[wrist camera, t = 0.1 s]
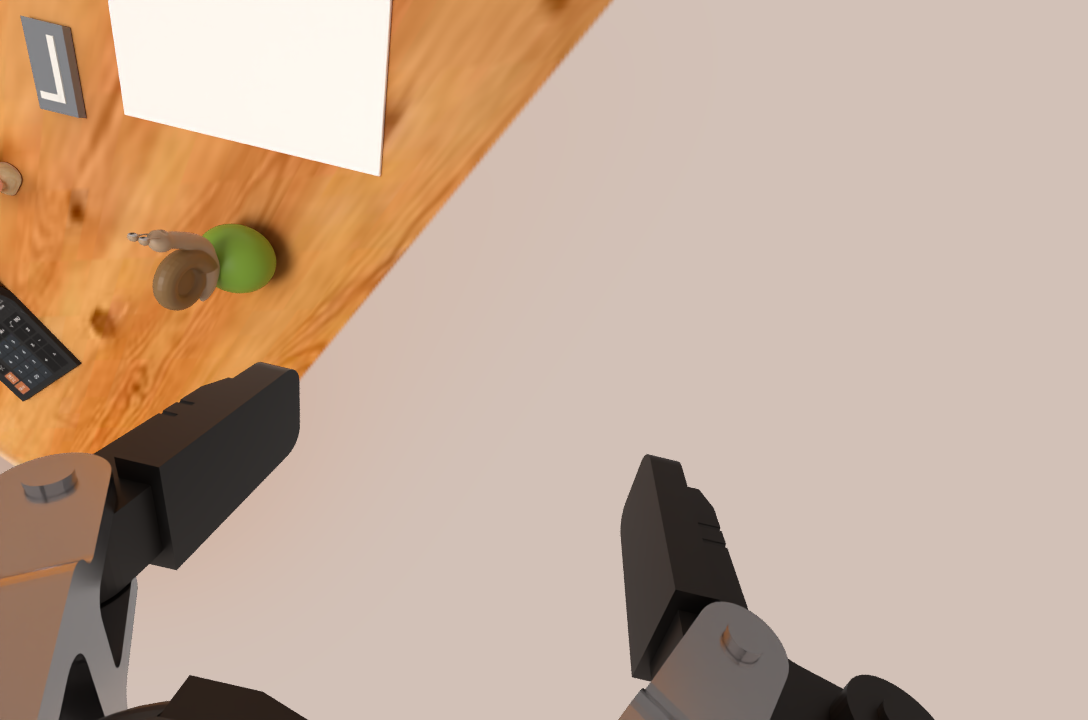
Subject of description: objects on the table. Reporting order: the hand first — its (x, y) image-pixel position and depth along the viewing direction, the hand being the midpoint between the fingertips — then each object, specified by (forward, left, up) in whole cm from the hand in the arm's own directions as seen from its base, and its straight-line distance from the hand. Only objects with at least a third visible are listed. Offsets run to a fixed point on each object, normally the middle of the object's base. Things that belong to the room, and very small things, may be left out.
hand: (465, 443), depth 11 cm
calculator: (+22, -50, -30) cm, 62 cm away
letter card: (-3, -39, -29) cm, 49 cm away
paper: (-10, -24, -29) cm, 39 cm away
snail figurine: (+7, -24, -30) cm, 39 cm away
